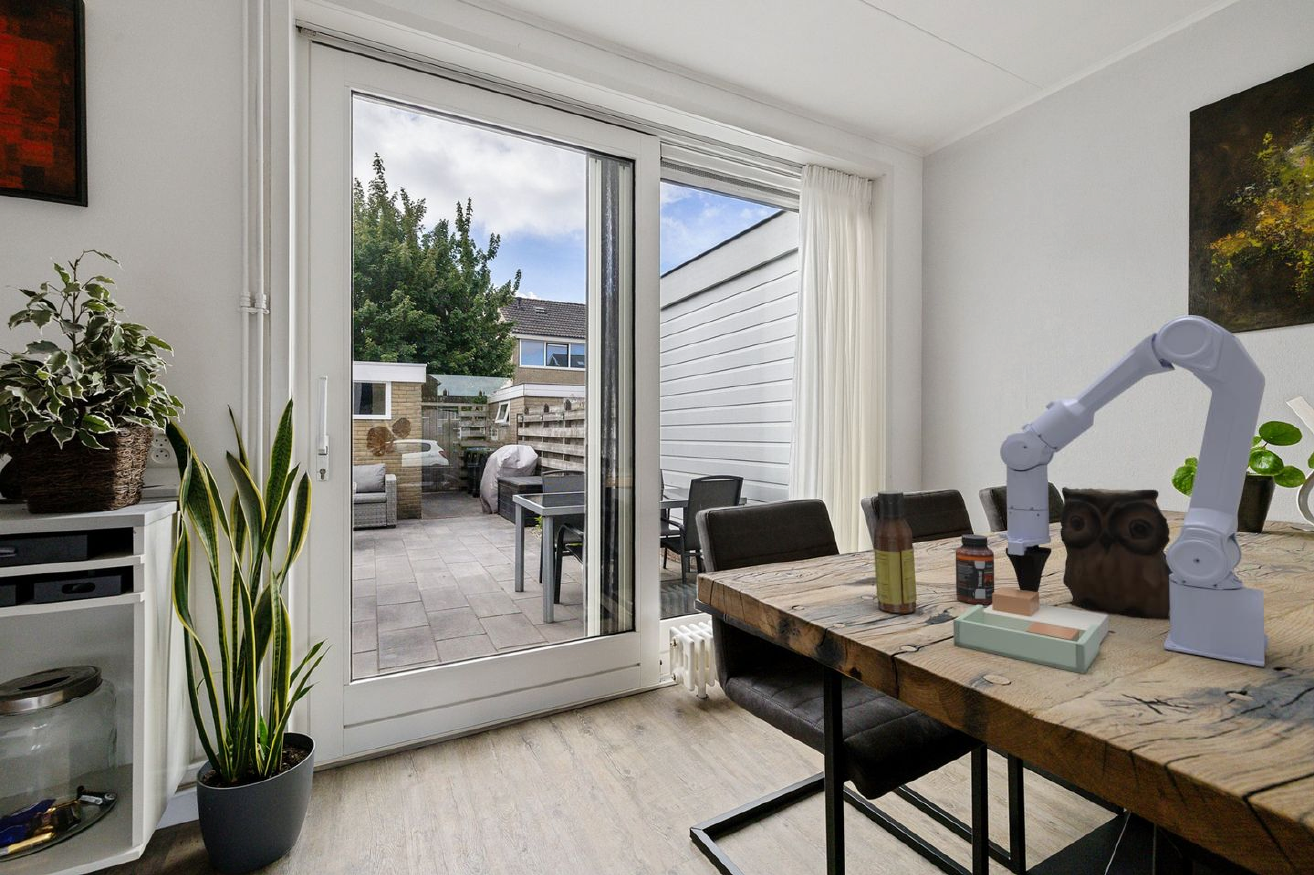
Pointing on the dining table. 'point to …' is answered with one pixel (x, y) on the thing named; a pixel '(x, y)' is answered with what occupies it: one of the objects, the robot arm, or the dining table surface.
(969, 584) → the supplement bottle
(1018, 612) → the tile
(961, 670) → the dining table surface
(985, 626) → the tray
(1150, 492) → the owl
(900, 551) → the sauce bottle
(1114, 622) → the dining table surface
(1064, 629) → the tile
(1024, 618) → the board
